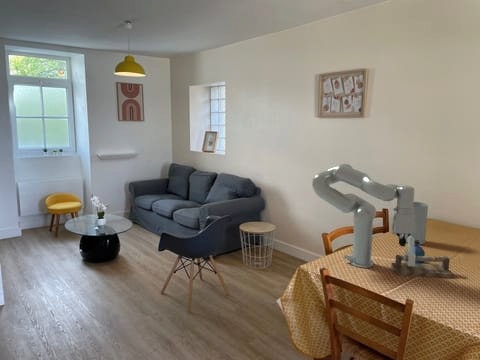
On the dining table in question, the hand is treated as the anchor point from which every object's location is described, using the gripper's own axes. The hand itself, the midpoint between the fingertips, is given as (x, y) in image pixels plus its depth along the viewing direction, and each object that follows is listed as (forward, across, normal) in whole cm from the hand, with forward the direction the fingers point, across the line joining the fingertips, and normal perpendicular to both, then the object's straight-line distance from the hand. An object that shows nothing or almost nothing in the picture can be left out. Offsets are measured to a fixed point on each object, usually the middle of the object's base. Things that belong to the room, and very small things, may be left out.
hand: (402, 245), depth 182 cm
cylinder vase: (+14, +24, +49) cm, 56 cm away
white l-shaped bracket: (+10, +4, 0) cm, 11 cm away
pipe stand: (+14, +10, 0) cm, 17 cm away
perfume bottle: (+14, +12, +14) cm, 23 cm away
